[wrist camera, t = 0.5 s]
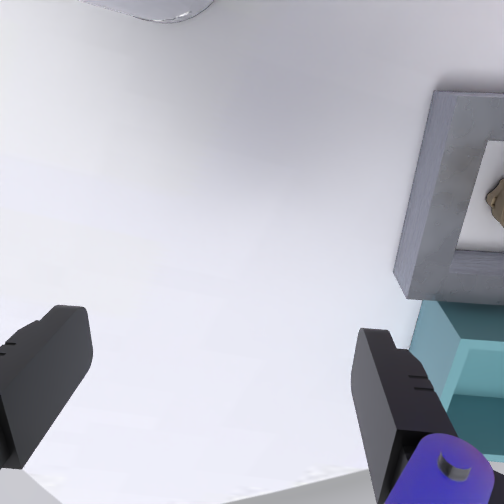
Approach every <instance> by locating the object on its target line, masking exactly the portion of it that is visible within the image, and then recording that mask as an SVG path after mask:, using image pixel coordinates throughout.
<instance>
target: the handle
mask: <svg viewBox="0 0 504 504" xmlns="http://www.w3.org/2000/svg"><path fill="white" fill-rule="evenodd" d="M486 201H487V203H488V204H489V205H490V206H491V207H492V215H493V216H494V218H495V219H496V220H497V221H498V222H500V224H501V225H502V226H503V227H504V179H502V180H501V181H500V183H499V185H498V186H497V187H496V188H495V189H494V190H493V191H492V192H490V193H489V194H488V195H487V199H486Z"/></svg>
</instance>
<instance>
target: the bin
mask: <svg viewBox="0 0 504 504" xmlns="http://www.w3.org/2000/svg"><path fill="white" fill-rule="evenodd" d="M409 352H411V353H412V354H413V355H414V356H415V357H416V358H417V359H418V360H419V361H420V362H421V363H422V365H423V367H424V369H425V371H426V373H427V375H428V380H430V381H431V383H432V385H433V387H434V392H436V393H437V395H438V397H439V399H440V401H441V403H442V405H443V407H444V409H445V411H446V413H447V415H448V417H449V419H450V421H451V423H452V425H453V427H454V429H455V431H456V433H457V435H458V437H459V438H460V439H462V440H464V441H466V442H468V443H469V444H471V445H472V446H473V447H475V448H476V449H477V450H478V451H479V452H481V453H482V454H483V456H484V457H485V458H486V459H487V461H494V462H504V305H489V304H474V303H460V302H445V301H430V300H423V302H422V305H421V309H420V312H419V316H418V320H417V323H416V327H415V331H414V334H413V338H412V342H411V345H410V349H409Z"/></svg>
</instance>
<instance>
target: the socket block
mask: <svg viewBox="0 0 504 504" xmlns="http://www.w3.org/2000/svg"><path fill="white" fill-rule="evenodd" d="M488 140H493V141H504V93H479V92H454V91H434V93H433V97H432V102H431V106H430V111H429V115H428V120H427V124H426V128H425V133H424V137H423V142H422V146H421V151H420V155H419V159H418V164H417V168H416V173H415V177H414V182H413V186H412V191H411V195H410V199H409V204H408V208H407V213H406V217H405V222H404V226H403V231H402V235H401V239H400V244H399V248H398V253H397V257H396V262H395V266H394V271H393V273H394V275H395V277H396V279H397V281H398V283H399V285H400V287H401V289H402V291H403V293H404V295H405V297H406V299H415V300H430V301H445V302H460V303H474V304H489V305H504V253H500V252H484V251H467V250H455V248H456V245H457V242H458V238H459V235H460V232H461V228H462V225H463V222H464V218H465V215H466V212H467V208H468V205H469V202H470V198H471V195H472V191H473V188H474V185H475V181H476V178H477V175H478V171H479V168H480V165H481V161H482V158H483V155H484V151H485V148H486V145H487V141H488Z"/></svg>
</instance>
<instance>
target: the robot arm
mask: <svg viewBox="0 0 504 504" xmlns="http://www.w3.org/2000/svg"><path fill="white" fill-rule="evenodd" d="M78 1H82V2H85V3H89V4H92V5H96V6H99V7H103V8H106V9H110V10H113V11H117V12H120V13H124V14H127V15H130V16H133V17H136V18H139V19H143V20H147V21H154V22H161V23H172V22H180V21H183V20H186V19H189V18H192V17H194V16H196V15H197V14H199V13H200V12H202V11H203V10H205V9H206V8H207V7H208V6H209V5H210V4H211V3H212V2H213V1H214V0H78ZM92 357H93V347H92V340H91V334H90V327H89V321H88V314H87V311H86V309H85V308H84V307H80V306H67V305H56V306H54V307H53V308H52V309H51V310H50V311H49V312H48V313H47V314H46V315H45V316H44V317H43V318H42V319H41V320H40V321H38V320H36V321H34V322H32V323H30V324H29V325H27V326H25V327H23V328H21V329H19V330H18V331H17V332H16V333H15V334H14V335H12V336H11V337H10V338H9V339H8V340H7V341H6V342H5V345H2V346H1V347H0V469H1V468H12V469H22V468H23V467H24V465H25V464H26V462H27V461H28V459H29V458H30V456H31V455H32V454H33V452H34V451H35V449H36V448H37V446H38V445H39V443H40V442H41V440H42V439H43V437H44V436H45V434H46V433H47V431H48V430H49V428H50V427H51V425H52V424H53V422H54V421H55V419H56V418H57V416H58V415H59V413H60V412H61V410H62V409H63V408H64V406H65V405H66V403H67V402H68V400H69V399H70V397H71V396H72V394H73V393H74V391H75V390H76V388H77V387H78V385H79V384H80V382H81V381H82V379H83V378H84V376H85V375H86V373H87V372H88V370H89V368H90V366H91V362H92ZM351 391H352V396H353V401H354V405H355V410H356V414H357V418H358V423H359V427H360V432H361V436H362V440H363V445H364V449H365V454H366V458H367V463H368V467H369V471H370V476H371V480H372V485H373V489H374V493H375V497H376V502H377V504H504V475H503V474H500V473H498V472H496V471H494V470H493V469H492V467H491V465H490V463H489V462H488V461H487V459H486V458H485V457H484V456H483V454H482V453H481V452H479V451H478V450H477V449H476V448H475V447H473V446H472V445H471V444H469V443H468V442H466V441H464V440H462V439H460V438H459V437H458V435H457V433H456V431H455V429H454V427H453V425H452V423H451V421H450V419H449V417H448V415H447V413H446V411H445V409H444V407H443V405H442V403H441V401H440V399H439V397H438V395H437V393H436V392H434V387H433V385H432V383H431V381H430V380H428V375H427V373H426V371H425V369H424V367H423V365H422V363H421V362H420V361H419V360H418V359H417V358H416V357H415V356H414V355H413V354H412V353H411V352H409V351H408V350H407V349H397V348H396V346H395V344H394V341H393V339H392V337H391V334H390V332H389V331H388V330H381V329H368V328H361V329H360V330H359V333H358V338H357V343H356V349H355V355H354V360H353V366H352V371H351Z"/></svg>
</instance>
